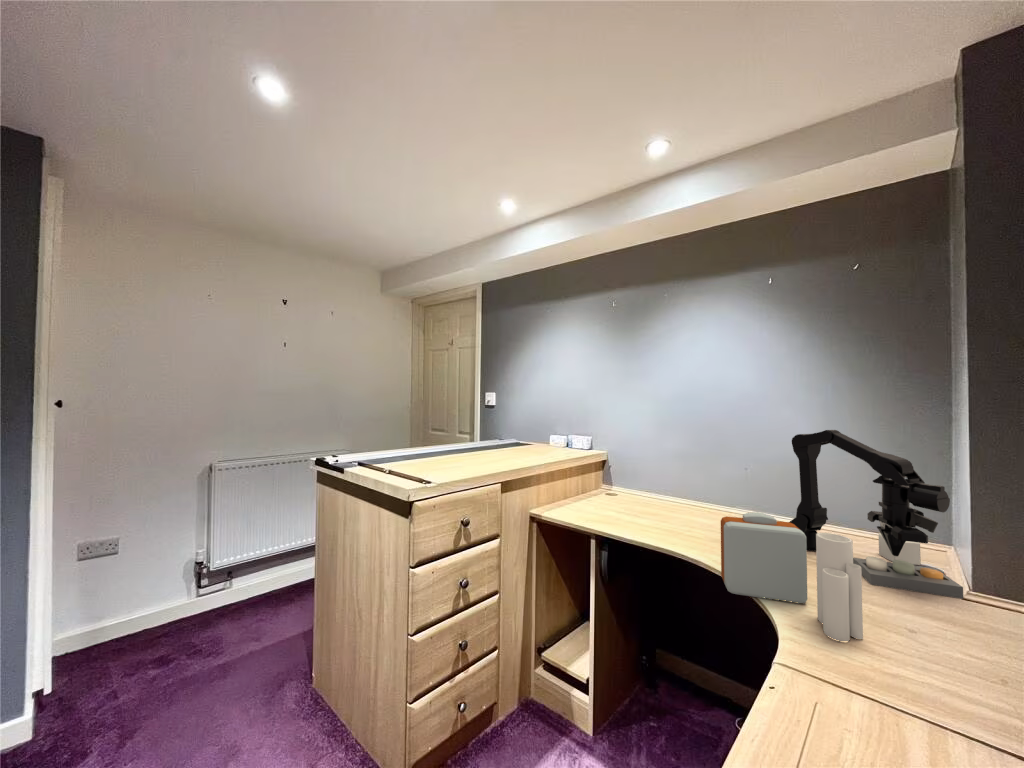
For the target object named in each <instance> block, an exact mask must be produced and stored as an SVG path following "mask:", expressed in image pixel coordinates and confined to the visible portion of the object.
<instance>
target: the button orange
mask: <svg viewBox="0 0 1024 768" xmlns="http://www.w3.org/2000/svg"><path fill="white" fill-rule="evenodd" d="M929 568H930V567H928V568H920V574H921V575H923V576H924V577H927V578H934V579H941V580H943V574H944V573H943V572H942V571H940V570H939V571H937V570H938V569H937V570H933V569H929Z"/></svg>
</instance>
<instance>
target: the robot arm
mask: <svg viewBox="0 0 1024 768" xmlns="http://www.w3.org/2000/svg"><path fill="white" fill-rule="evenodd" d="M791 444H792V446H791V447H792V449H793V453H794V454H795V455H796V458H797V459H798V468H799V472H798V473H799V482H800V483H799V486H800V501H799V504H798V506H797V508H796V513H795V517H794V518H793V519H791V520H790V521H789V522H790V523H792V524H794V525H795V526H797V527H798V528H799V529H800V530H801V531H802V532H803V533H804V534H805V536H806V543H807V551H810V552H811V551H812V552H816V534H817V533H818V531H821V530H822V527H823V526H825V525H826V523H827V521H829V518H828V508H827V507H823V506H822V504H821V503H820V500H819V486H818V485H819V484H818V470H817V468H818V466H817V460H818V457H819V455H820V453H821V450H822V448H821V447H822V446H824V445H828V444H831V445H833V446H835V447H837V448H839V449H840V450H842V451H843V452H846V453H848V454H850V455H851V456H854V457H856V458H858V459H859V460H862V461H864V462H865V463H867V465H868V466H870V467H871V468H872V470H874V471H875V472H877V473H878V474H879V476H878V477H877V478H875V479H873V480H872V483H874V484H880V485H881V501H878V506H879V507H881V511H875V510H871V511H869V512H867V520H868V521H869V522H871V523H874V522H875V521H878V522H879V525H878V526H876V528H877V530H878V531H879V533H880V534H881V535H882V536H883V538H884V540H885V542H886V544H887V546H888V548H889V549H890V551H891V553H892V555H894V556H899V554H900V552H901V550H902V547H903V545H904V544H905V542H906V541H910V542H918V543H920V544H929V536H928V535H927V533H926V532H924V531H922V530H921V529H924V530H926V531H928V532H930V533H932V534H934V533H935V530H936V528H937V526H938V525H939V522H937V521H935V520H933V519H932V518H929V517H927V516H924V512H923V511H921V510H919V509H915V508H912V507H910V504H911V505H912V506H914V507H917V508H921V509H926V510H930V511H935V512H940V513H946V512H947V511H948V509H949V507H950V504H951V500H950V499H951V498H949V494H948V492H946V488H945V486H943V485H939V484H936V485H934V484H929V483H925V481H924V480H923V479H922V477H920V474H918V473H917V472H916V470H915V469H914V466H913V463H912V462H911V461H910V460H908V459H907V458H904V457H901V456H897V455H894V454H891V453H888V452H882V451H879V450H877V449H875V448H873V447H870V446H869V445H866V444H864V443H862V442H861V441H858V440H856V439H854V438H852V437H850V436H848V435H845V434H843V433H842V432H841V431H839V430H838V429H837V430H836V429H825V430H823V431H819V432H814V433H798V434H795V435H794V436H793V437H792V438H791ZM907 526H909V527H907ZM911 527H912V528H911ZM917 527H918V528H921V529H918V528H917Z"/></svg>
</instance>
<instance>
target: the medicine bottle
mask: <svg viewBox="0 0 1024 768" xmlns="http://www.w3.org/2000/svg"><path fill="white" fill-rule="evenodd" d="M907 527H909V526H907ZM911 528H913V527H911ZM877 537H878V555H880V556H881V557H883V558H885V559H886V560H888V561H889V562H891V563H893V560H900V561H905V562H909V563H911V564H913V565H914V566H921V563H922V562H921V543H918V542H910V541H906V542H905V544H904V545H903V547H902V550H901V552H900V554H899V556H894V555H892V553H891V551H890V549H889V548H888V546H887V544H886V542H885V540H884V538H883V536H882V535H881V533H880V532H879V533H878V535H877Z"/></svg>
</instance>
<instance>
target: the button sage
mask: <svg viewBox="0 0 1024 768" xmlns="http://www.w3.org/2000/svg"><path fill="white" fill-rule="evenodd" d="M892 563H893V571H895V572H896V573H899V574H906V575H913V576H915V573H914V566H915V565H913V564H911V563H909V562H905V561H900V560H893V562H892Z"/></svg>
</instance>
